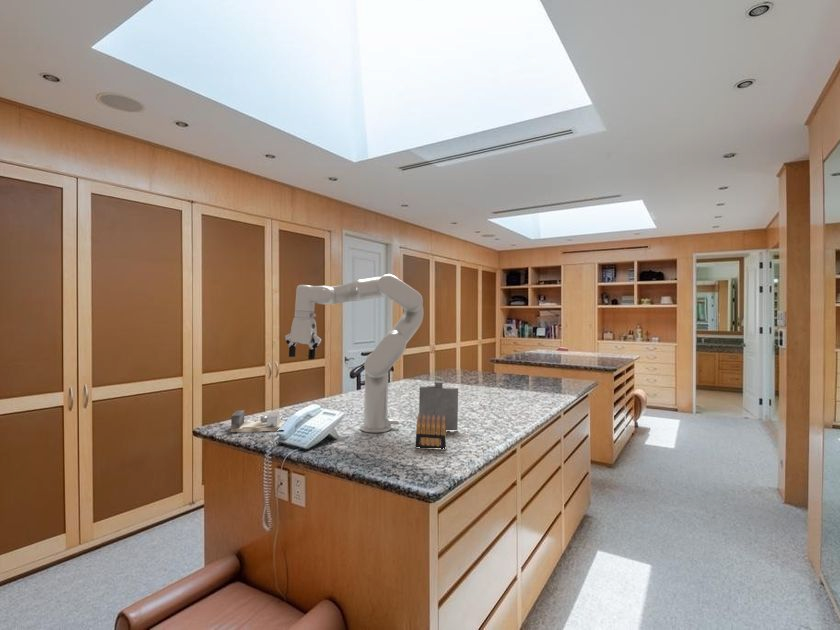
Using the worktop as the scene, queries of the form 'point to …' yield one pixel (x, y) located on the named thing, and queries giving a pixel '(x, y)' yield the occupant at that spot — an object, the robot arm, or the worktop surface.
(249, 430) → the gauge base
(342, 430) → the worktop surface
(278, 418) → the gauge carriage
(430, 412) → the hip flask
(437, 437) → the ammunition clip
